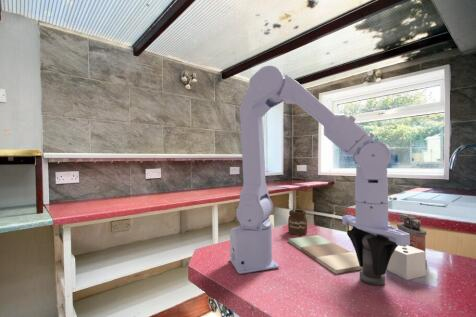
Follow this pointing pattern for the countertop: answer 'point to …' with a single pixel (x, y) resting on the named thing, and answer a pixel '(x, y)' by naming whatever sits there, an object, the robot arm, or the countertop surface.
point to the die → (407, 262)
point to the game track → (327, 253)
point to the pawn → (369, 265)
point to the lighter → (413, 232)
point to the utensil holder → (297, 221)
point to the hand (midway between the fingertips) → (372, 269)
